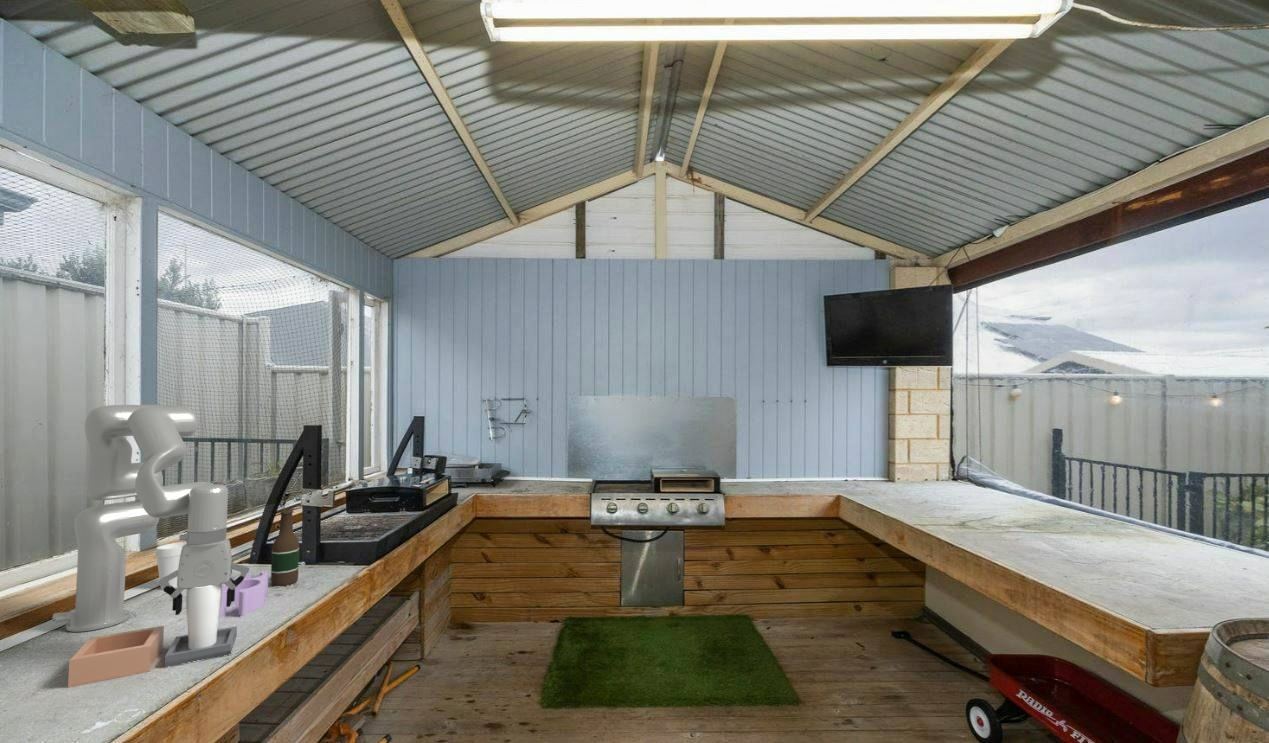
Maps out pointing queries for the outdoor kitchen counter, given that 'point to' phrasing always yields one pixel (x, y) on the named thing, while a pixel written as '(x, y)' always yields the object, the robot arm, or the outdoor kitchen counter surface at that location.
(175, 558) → the foam cup
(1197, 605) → the outdoor kitchen counter surface
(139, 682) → the outdoor kitchen counter surface
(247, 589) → the clip
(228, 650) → the charcoal tray
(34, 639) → the outdoor kitchen counter surface
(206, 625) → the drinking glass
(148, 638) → the terracotta holder
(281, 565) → the beer bottle
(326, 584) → the outdoor kitchen counter surface
